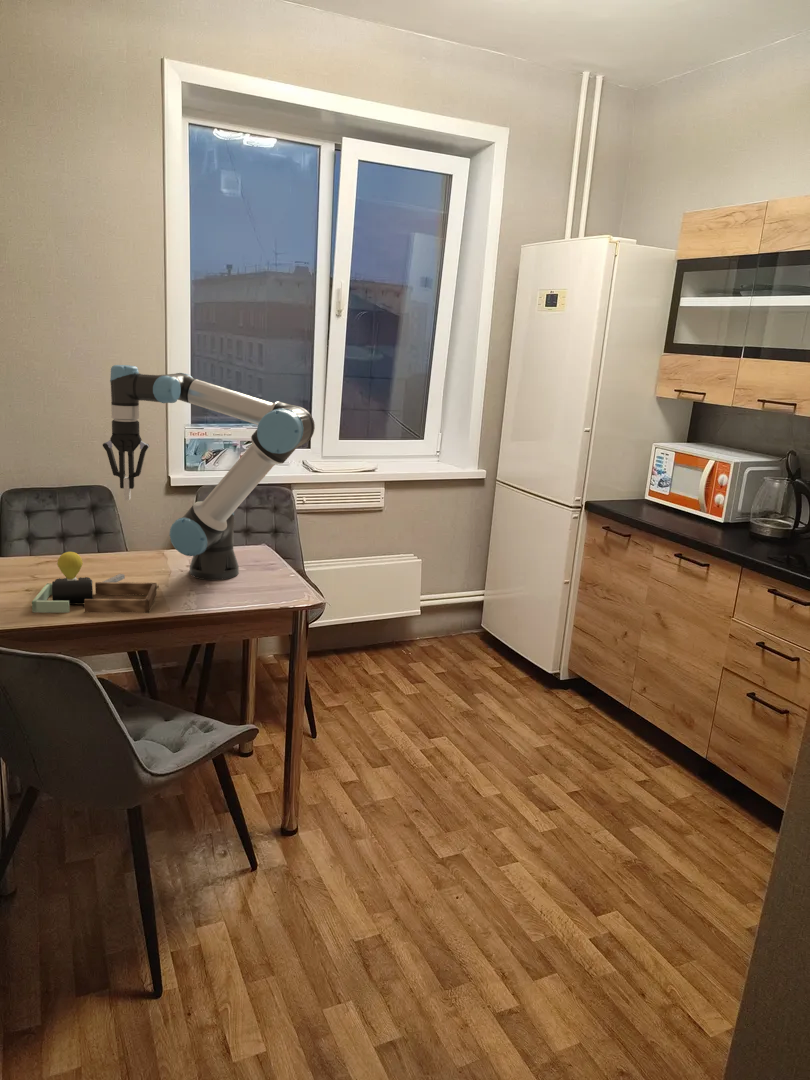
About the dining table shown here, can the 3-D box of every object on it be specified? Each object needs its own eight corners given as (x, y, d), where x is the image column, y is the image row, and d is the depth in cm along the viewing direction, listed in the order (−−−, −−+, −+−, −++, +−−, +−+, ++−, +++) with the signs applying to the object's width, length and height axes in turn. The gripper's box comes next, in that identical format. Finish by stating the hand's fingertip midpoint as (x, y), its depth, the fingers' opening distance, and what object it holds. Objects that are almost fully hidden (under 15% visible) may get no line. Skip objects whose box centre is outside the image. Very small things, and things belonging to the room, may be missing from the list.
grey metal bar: (104, 589, 223) (104, 583, 222) (99, 588, 223) (99, 583, 223) (124, 579, 232) (124, 574, 232) (119, 578, 232) (119, 573, 232)
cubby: (156, 594, 221) (156, 582, 220) (149, 612, 206) (149, 600, 205) (96, 593, 217) (96, 582, 217) (84, 612, 203) (84, 600, 202)
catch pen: (81, 593, 217) (81, 583, 216) (68, 612, 203) (68, 601, 202) (47, 593, 215) (47, 583, 214) (32, 612, 201) (31, 601, 200)
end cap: (52, 608, 205) (51, 585, 203) (54, 599, 211) (52, 576, 209) (93, 606, 208) (92, 583, 206) (93, 597, 215) (92, 575, 213)
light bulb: (74, 589, 219) (72, 556, 217) (53, 586, 220) (51, 553, 218) (88, 583, 226) (86, 550, 223) (67, 580, 227) (66, 547, 224)
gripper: (150, 419, 226) (152, 497, 232) (104, 417, 223) (106, 495, 229) (147, 422, 219) (148, 502, 225) (99, 420, 216) (101, 501, 222)
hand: (127, 499), depth 227 cm, fingers closed
